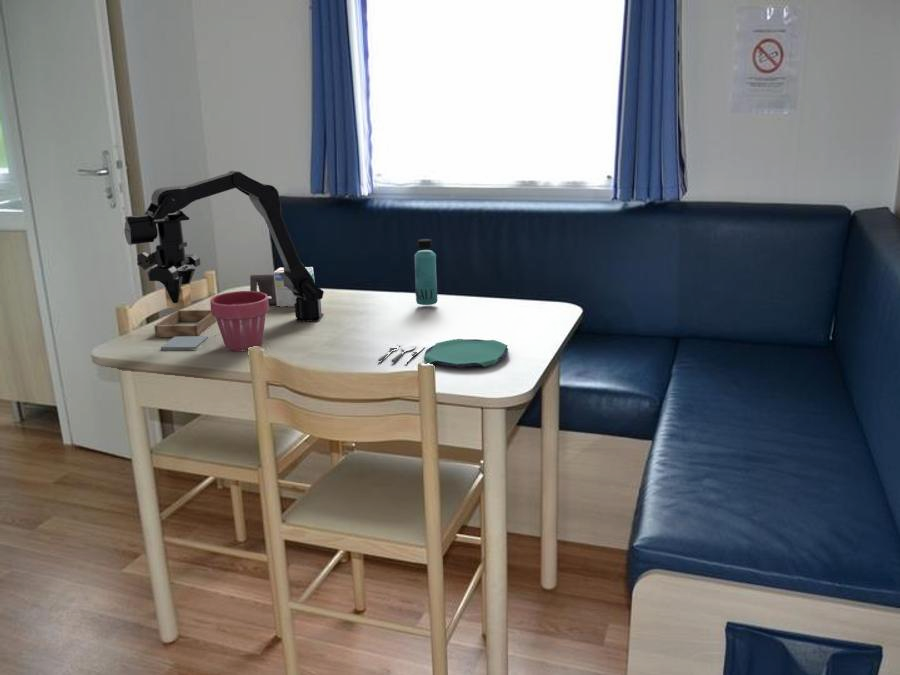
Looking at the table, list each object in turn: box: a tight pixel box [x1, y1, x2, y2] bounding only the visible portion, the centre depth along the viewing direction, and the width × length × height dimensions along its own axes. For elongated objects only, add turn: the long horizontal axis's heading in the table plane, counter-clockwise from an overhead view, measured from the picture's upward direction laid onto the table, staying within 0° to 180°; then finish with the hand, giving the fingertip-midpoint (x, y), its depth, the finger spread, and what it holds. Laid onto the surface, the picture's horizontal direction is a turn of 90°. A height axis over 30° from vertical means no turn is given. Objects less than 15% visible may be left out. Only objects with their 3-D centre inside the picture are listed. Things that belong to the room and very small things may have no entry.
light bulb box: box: [273, 266, 316, 308], centre depth 245 cm, size 11×7×11 cm, turn 84°
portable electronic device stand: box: [249, 273, 277, 306], centre depth 248 cm, size 9×8×8 cm
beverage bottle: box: [413, 238, 438, 306], centre depth 236 cm, size 6×7×20 cm
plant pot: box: [209, 290, 270, 352], centre depth 207 cm, size 14×14×13 cm
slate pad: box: [160, 335, 209, 351], centre depth 211 cm, size 9×9×1 cm
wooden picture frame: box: [154, 309, 217, 338], centre depth 225 cm, size 12×16×3 cm
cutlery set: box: [377, 338, 509, 368], centre depth 196 cm, size 20×30×2 cm, turn 74°
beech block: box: [164, 284, 192, 309], centre depth 208 cm, size 4×4×5 cm
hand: (179, 300), depth 208 cm, fingers closed on beech block, 4 cm apart
